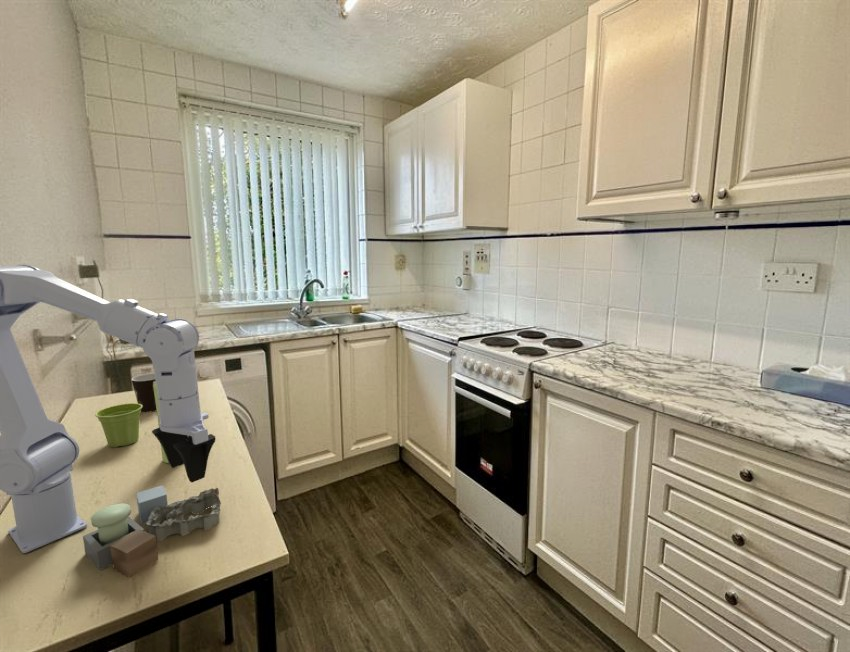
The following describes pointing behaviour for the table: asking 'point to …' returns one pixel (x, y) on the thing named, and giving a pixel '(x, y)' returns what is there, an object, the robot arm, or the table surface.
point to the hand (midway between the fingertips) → (187, 472)
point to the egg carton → (179, 509)
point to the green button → (111, 522)
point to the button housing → (103, 553)
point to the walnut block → (134, 553)
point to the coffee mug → (145, 391)
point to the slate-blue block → (150, 501)
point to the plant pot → (120, 423)
